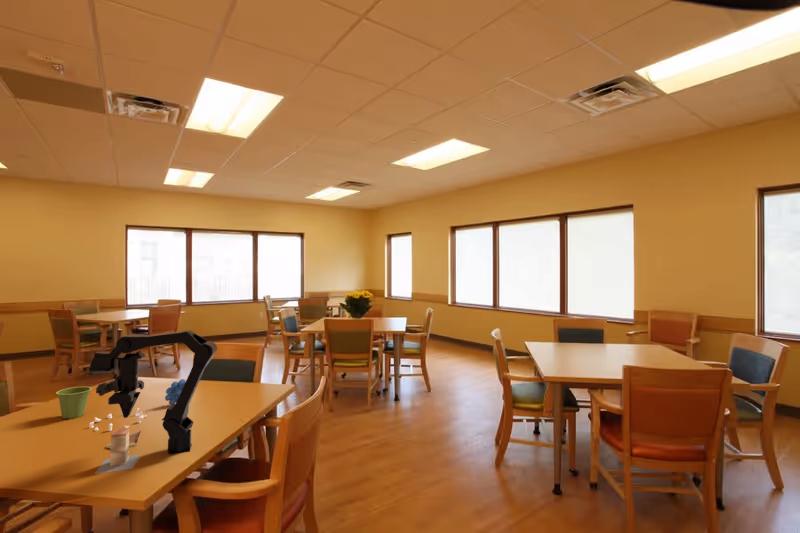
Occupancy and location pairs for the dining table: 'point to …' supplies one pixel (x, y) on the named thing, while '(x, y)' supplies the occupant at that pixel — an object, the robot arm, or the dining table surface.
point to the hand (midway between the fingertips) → (126, 416)
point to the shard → (130, 440)
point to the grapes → (174, 391)
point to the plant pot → (73, 401)
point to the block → (119, 447)
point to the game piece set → (111, 417)
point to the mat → (107, 468)
